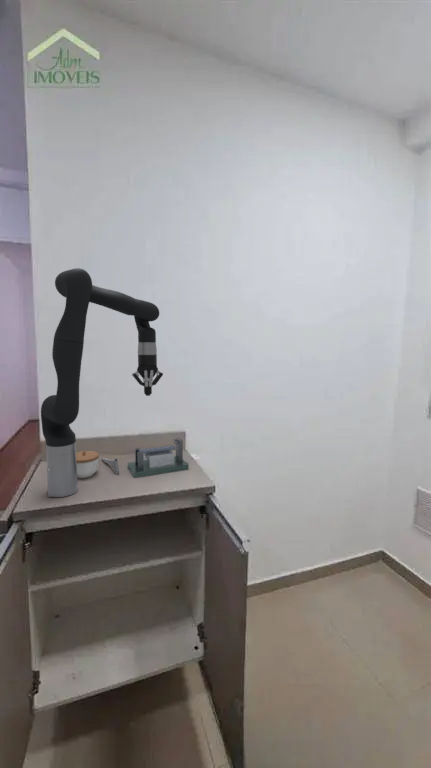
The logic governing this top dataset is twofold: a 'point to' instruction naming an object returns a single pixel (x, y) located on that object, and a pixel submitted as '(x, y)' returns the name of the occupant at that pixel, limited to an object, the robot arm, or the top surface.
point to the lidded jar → (86, 463)
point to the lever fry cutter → (158, 462)
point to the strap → (157, 449)
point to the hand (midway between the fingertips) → (148, 395)
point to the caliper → (112, 464)
